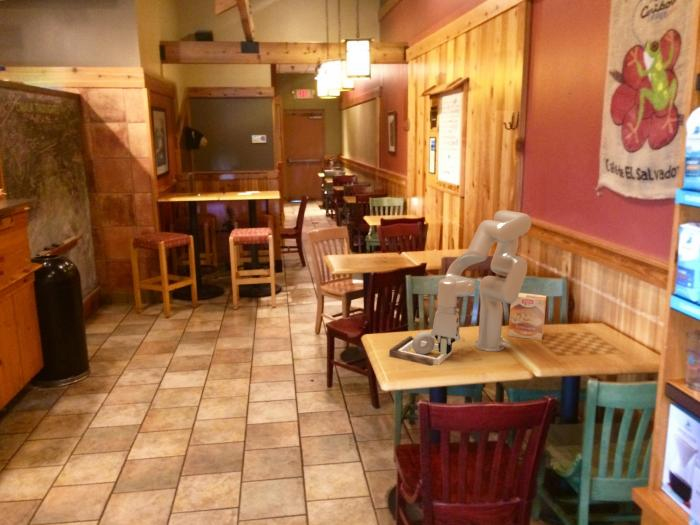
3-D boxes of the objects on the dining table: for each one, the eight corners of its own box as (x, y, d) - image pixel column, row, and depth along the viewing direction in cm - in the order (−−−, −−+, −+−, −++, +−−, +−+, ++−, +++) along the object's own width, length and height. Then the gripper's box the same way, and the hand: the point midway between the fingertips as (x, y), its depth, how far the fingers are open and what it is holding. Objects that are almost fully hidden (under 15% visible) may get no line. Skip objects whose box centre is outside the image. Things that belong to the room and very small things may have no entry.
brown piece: (449, 350, 254) (449, 344, 253) (431, 366, 237) (431, 359, 236) (409, 342, 263) (409, 336, 262) (389, 356, 246) (389, 349, 246)
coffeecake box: (507, 336, 272) (510, 295, 268) (509, 331, 279) (512, 291, 274) (541, 340, 267) (545, 299, 262) (543, 335, 273) (546, 295, 269)
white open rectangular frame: (454, 352, 251) (455, 332, 249) (439, 365, 237) (440, 344, 235) (413, 344, 260) (414, 324, 258) (396, 356, 246) (397, 335, 244)
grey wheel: (413, 356, 246) (414, 334, 244) (410, 353, 250) (411, 331, 247) (435, 354, 249) (436, 332, 247) (432, 351, 252) (433, 329, 250)
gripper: (469, 310, 239) (466, 353, 243) (431, 304, 247) (430, 345, 251) (462, 315, 233) (460, 358, 237) (424, 308, 241) (423, 351, 245)
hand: (444, 351), depth 244 cm, fingers closed on white open rectangular frame, 2 cm apart
